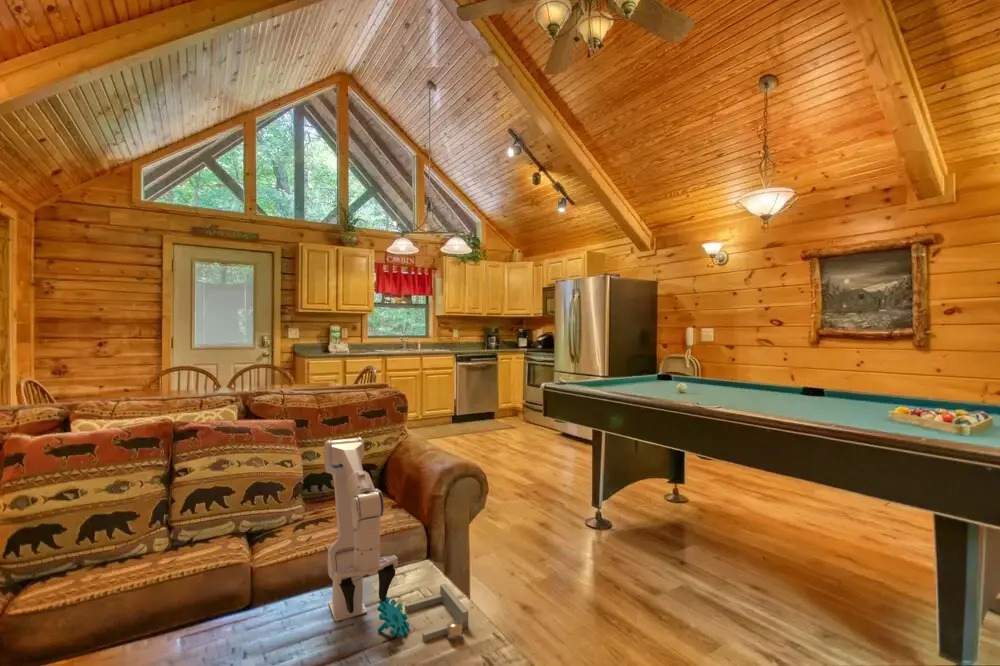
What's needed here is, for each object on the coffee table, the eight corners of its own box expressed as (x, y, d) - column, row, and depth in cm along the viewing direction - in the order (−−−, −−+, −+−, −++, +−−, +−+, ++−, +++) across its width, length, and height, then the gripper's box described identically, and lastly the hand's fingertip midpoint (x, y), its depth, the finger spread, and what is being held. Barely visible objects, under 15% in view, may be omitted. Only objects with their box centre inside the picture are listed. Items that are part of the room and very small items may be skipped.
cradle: (404, 609, 124) (404, 594, 124) (445, 598, 130) (445, 583, 130) (424, 641, 112) (424, 624, 112) (468, 627, 117) (468, 611, 117)
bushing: (444, 635, 114) (444, 622, 114) (458, 630, 116) (458, 618, 116) (450, 643, 111) (450, 631, 111) (464, 639, 113) (464, 626, 113)
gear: (402, 641, 109) (375, 605, 111) (383, 659, 109) (357, 622, 111) (417, 619, 120) (392, 587, 122) (400, 635, 120) (376, 603, 122)
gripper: (341, 560, 102) (340, 624, 101) (403, 543, 110) (403, 602, 110) (331, 549, 107) (330, 609, 107) (390, 533, 116) (390, 589, 116)
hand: (366, 605), depth 109 cm, fingers open, 7 cm apart
